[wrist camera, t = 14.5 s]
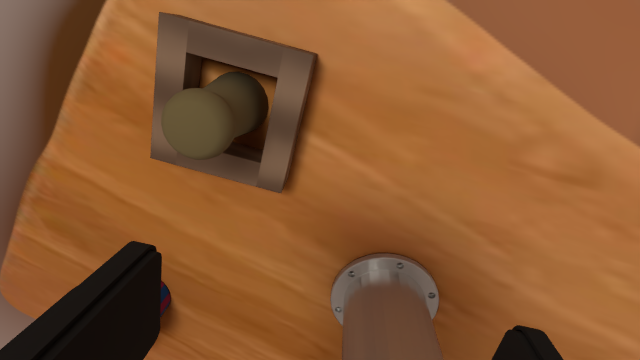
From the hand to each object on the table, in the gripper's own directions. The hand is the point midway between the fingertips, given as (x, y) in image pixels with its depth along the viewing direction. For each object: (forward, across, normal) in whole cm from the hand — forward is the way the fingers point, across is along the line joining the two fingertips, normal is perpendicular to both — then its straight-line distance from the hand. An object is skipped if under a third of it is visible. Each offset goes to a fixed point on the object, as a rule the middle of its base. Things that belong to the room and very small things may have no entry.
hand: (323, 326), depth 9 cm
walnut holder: (+26, +11, 0) cm, 28 cm away
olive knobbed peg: (+26, +11, 0) cm, 28 cm away
